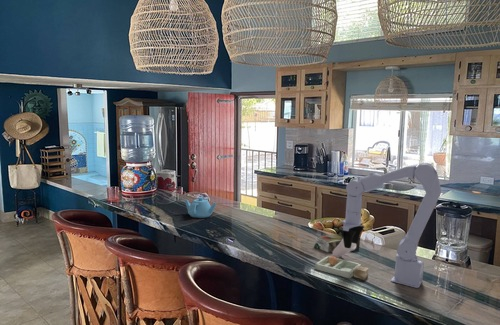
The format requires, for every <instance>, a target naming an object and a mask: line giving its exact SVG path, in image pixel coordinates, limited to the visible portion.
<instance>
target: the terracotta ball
mask: <svg viewBox="0 0 500 325" xmlns="http://www.w3.org/2000/svg"><path fill="white" fill-rule="evenodd" d="M328 261H329V264H330V265H336V264H337V257H334V255H333V256H332V255H331V257H330V258H329V260H328Z"/></svg>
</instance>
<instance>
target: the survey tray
mask: <svg viewBox="0 0 500 325" xmlns="http://www.w3.org/2000/svg"><path fill="white" fill-rule="evenodd" d="M331 256H332V255H331ZM331 256H330V255H327V256H325V257H323V258H322V259H320V260H319V261H317V262H316V263H315V264H314V270H317V271H321V272H325V273H329V274H333V275H334V276H335V275H336V276H339V277H343V278H347V279H352V278H353V277H354V269H355V268H356V267H357V266H362V263H360V262H359V263H357V262H355V261H351V260H345V259H342V258H337V257H336V258H337V264H336V265H330V264H329V261H328V260H329V258H330V257H331Z"/></svg>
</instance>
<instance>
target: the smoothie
mask: <svg viewBox="0 0 500 325" xmlns="http://www.w3.org/2000/svg"><path fill="white" fill-rule="evenodd" d="M355 248H356V244H355V243H352V245H351V248H345V246H344V241H343V239H342V241H341V242H340V243H339V245H338V246H337V247H336V248H335V249H334V251H333V252H332V255H333V256H334V257H336V258H339V259H341V257H343V256H345V255H346V254H349V252H352V251H355V250H354V249H355Z"/></svg>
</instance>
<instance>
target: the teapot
mask: <svg viewBox="0 0 500 325" xmlns="http://www.w3.org/2000/svg"><path fill="white" fill-rule="evenodd" d="M208 199H209V198H205V199H204V197H201V196H200V197H197V199H194V200H193V201H192V202H191V203H190V201H189V199H184V203H185V206H186V209H187V214H188V215H189V216H190V217H192V218H198V219H204V218H209V217H211V216H212V213H214V211H215V208H216V206H217V202H213V203H211V204H212V205H211V204H210V202H209V200H208Z"/></svg>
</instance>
